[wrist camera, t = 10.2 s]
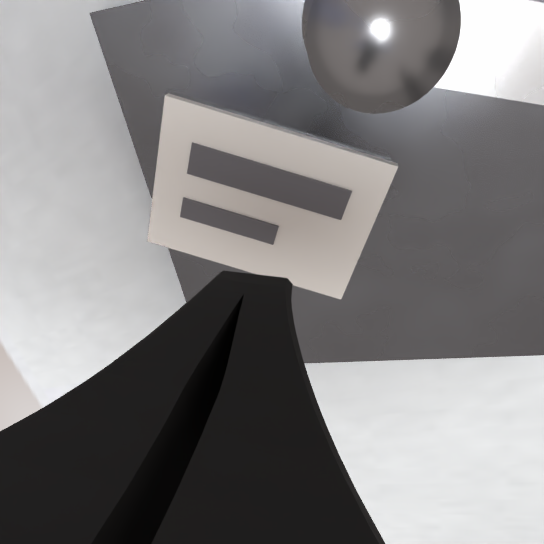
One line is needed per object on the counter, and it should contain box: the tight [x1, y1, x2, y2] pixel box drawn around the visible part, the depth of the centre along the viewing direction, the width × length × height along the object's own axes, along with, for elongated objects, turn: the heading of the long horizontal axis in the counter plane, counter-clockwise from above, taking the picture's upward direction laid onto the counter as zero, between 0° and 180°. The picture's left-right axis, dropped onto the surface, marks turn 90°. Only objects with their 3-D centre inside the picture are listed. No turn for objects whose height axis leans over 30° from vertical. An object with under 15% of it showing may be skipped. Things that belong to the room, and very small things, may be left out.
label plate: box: [147, 93, 398, 299], centre depth 15 cm, size 7×5×1 cm
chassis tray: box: [90, 0, 544, 363], centre depth 14 cm, size 16×13×1 cm
